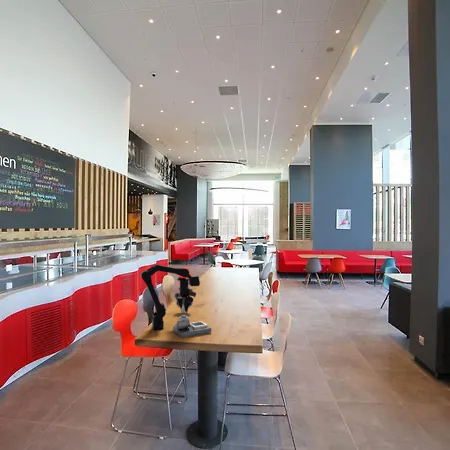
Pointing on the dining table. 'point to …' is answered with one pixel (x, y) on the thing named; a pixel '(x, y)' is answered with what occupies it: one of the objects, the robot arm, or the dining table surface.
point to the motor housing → (190, 328)
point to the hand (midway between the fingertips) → (183, 310)
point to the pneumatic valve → (183, 307)
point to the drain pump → (183, 318)
